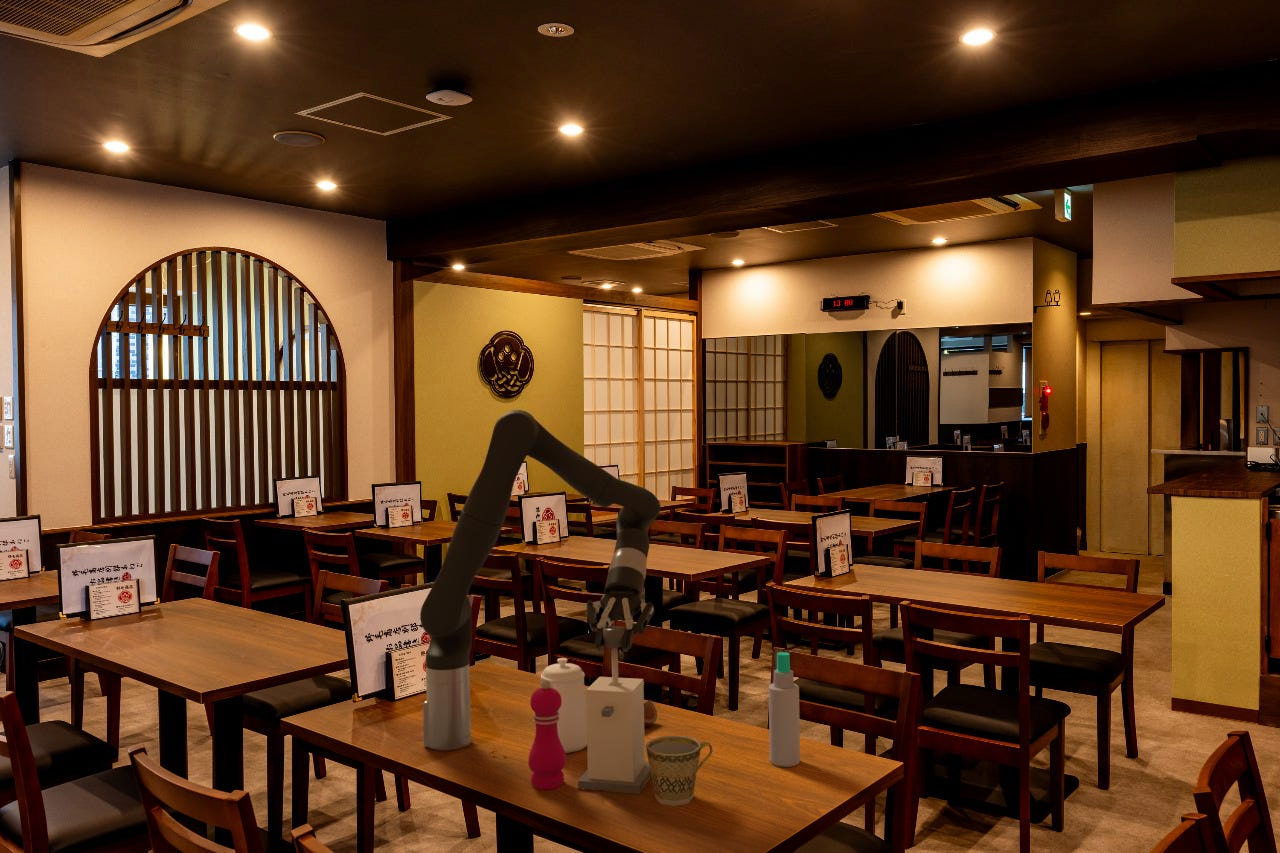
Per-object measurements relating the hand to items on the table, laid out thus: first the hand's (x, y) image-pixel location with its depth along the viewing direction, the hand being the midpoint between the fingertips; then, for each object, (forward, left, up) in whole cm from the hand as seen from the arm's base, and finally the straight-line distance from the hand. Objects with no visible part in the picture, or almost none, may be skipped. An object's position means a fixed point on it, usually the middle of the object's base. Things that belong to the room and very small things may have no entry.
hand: (612, 649), depth 181 cm
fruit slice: (-3, +33, -26) cm, 42 cm away
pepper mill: (-13, -3, -26) cm, 29 cm away
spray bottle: (+31, +17, -26) cm, 44 cm away
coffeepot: (-16, +17, -26) cm, 35 cm away
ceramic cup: (+14, -4, -26) cm, 30 cm away
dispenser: (0, +2, -26) cm, 26 cm away
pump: (0, +2, -17) cm, 17 cm away
